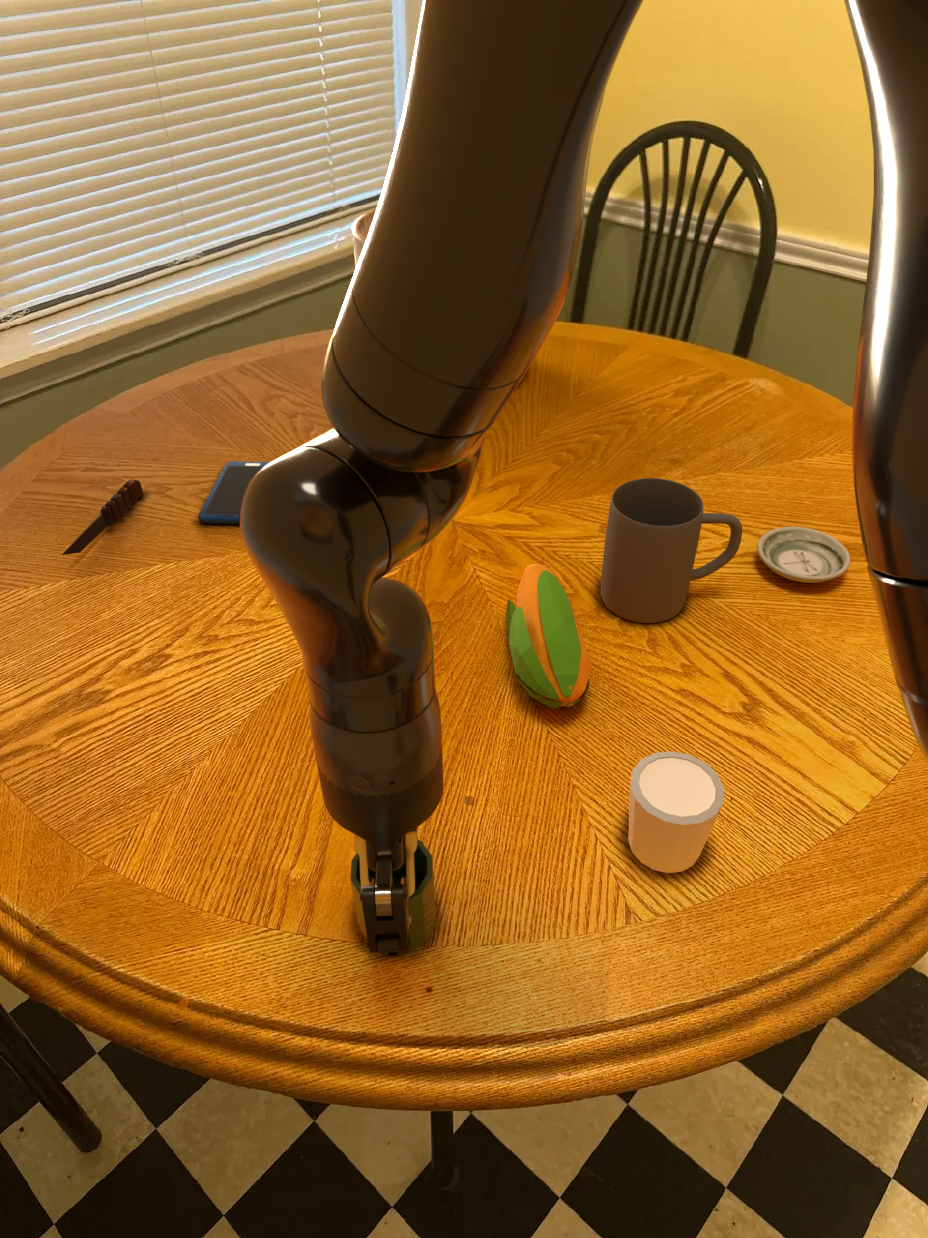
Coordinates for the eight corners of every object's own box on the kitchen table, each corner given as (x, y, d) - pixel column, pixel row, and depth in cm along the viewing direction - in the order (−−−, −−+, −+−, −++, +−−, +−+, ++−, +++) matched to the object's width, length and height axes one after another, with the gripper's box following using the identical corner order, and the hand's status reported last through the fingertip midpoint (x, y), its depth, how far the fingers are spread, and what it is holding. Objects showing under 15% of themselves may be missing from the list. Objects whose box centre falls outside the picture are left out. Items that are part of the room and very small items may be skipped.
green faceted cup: (436, 952, 61) (433, 901, 57) (357, 957, 61) (348, 906, 57) (434, 883, 65) (431, 831, 61) (361, 887, 65) (352, 835, 61)
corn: (523, 667, 72) (497, 532, 87) (514, 729, 77) (491, 592, 92) (610, 666, 73) (569, 533, 88) (596, 728, 78) (559, 591, 93)
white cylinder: (681, 798, 71) (694, 740, 67) (725, 865, 66) (743, 809, 62) (605, 820, 70) (614, 763, 65) (645, 891, 65) (657, 834, 60)
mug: (605, 625, 88) (617, 528, 80) (594, 572, 95) (604, 477, 87) (738, 624, 88) (763, 526, 80) (717, 570, 95) (738, 475, 87)
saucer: (736, 553, 97) (740, 536, 96) (807, 536, 100) (812, 518, 98) (788, 604, 90) (793, 585, 89) (863, 583, 93) (870, 565, 91)
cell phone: (282, 466, 113) (281, 461, 113) (257, 525, 103) (256, 520, 102) (227, 465, 114) (226, 460, 113) (197, 524, 103) (195, 518, 103)
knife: (73, 574, 96) (64, 552, 94) (65, 573, 96) (57, 551, 94) (145, 495, 109) (139, 474, 107) (138, 494, 109) (132, 473, 107)
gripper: (445, 839, 46) (451, 988, 56) (438, 656, 56) (444, 810, 67) (303, 846, 45) (335, 994, 56) (323, 661, 56) (347, 814, 67)
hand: (395, 893), depth 61 cm, fingers open, 8 cm apart
